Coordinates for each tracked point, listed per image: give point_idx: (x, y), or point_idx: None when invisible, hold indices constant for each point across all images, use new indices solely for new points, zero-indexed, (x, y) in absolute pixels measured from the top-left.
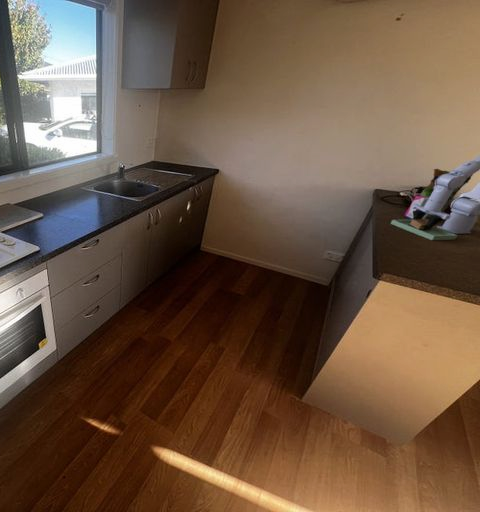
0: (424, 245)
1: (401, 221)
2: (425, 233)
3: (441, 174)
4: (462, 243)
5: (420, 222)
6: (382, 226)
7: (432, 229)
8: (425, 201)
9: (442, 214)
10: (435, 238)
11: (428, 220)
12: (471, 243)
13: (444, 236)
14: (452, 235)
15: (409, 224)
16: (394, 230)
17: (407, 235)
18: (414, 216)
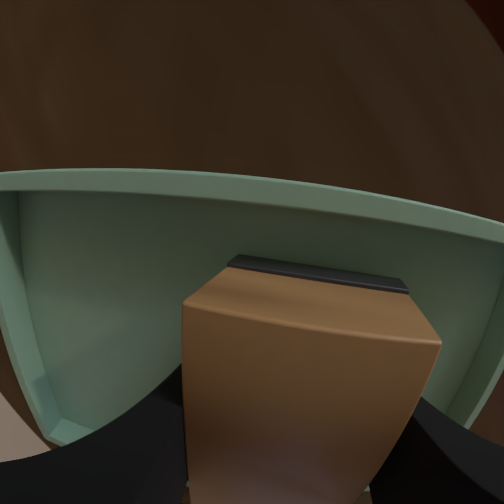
0: (7, 5)
1: (488, 356)
2: (56, 169)
3: None
4: (9, 375)
5: (282, 388)
6: (462, 24)
7: None
8: None
9: None
10: (5, 208)
11: (146, 476)
12: (29, 422)
13: (2, 317)
14: (28, 402)
15: (399, 288)
16: (345, 4)
17: (170, 3)
18: (476, 447)
